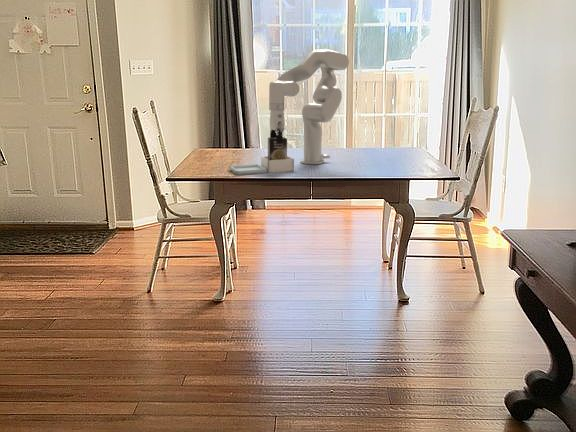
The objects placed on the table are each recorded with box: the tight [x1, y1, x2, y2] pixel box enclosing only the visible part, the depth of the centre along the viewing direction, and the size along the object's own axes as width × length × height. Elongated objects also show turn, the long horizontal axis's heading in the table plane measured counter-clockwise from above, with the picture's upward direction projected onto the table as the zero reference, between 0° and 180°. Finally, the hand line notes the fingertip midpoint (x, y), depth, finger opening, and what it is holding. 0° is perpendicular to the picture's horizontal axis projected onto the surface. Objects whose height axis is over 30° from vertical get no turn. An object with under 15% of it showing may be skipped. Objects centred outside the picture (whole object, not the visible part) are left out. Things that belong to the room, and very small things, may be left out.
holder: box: [260, 155, 295, 173], centre depth 291 cm, size 14×12×6 cm
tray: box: [229, 163, 267, 176], centre depth 286 cm, size 15×14×2 cm
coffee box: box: [267, 136, 288, 160], centre depth 289 cm, size 9×6×16 cm
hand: (276, 141), depth 287 cm, fingers open, 9 cm apart
